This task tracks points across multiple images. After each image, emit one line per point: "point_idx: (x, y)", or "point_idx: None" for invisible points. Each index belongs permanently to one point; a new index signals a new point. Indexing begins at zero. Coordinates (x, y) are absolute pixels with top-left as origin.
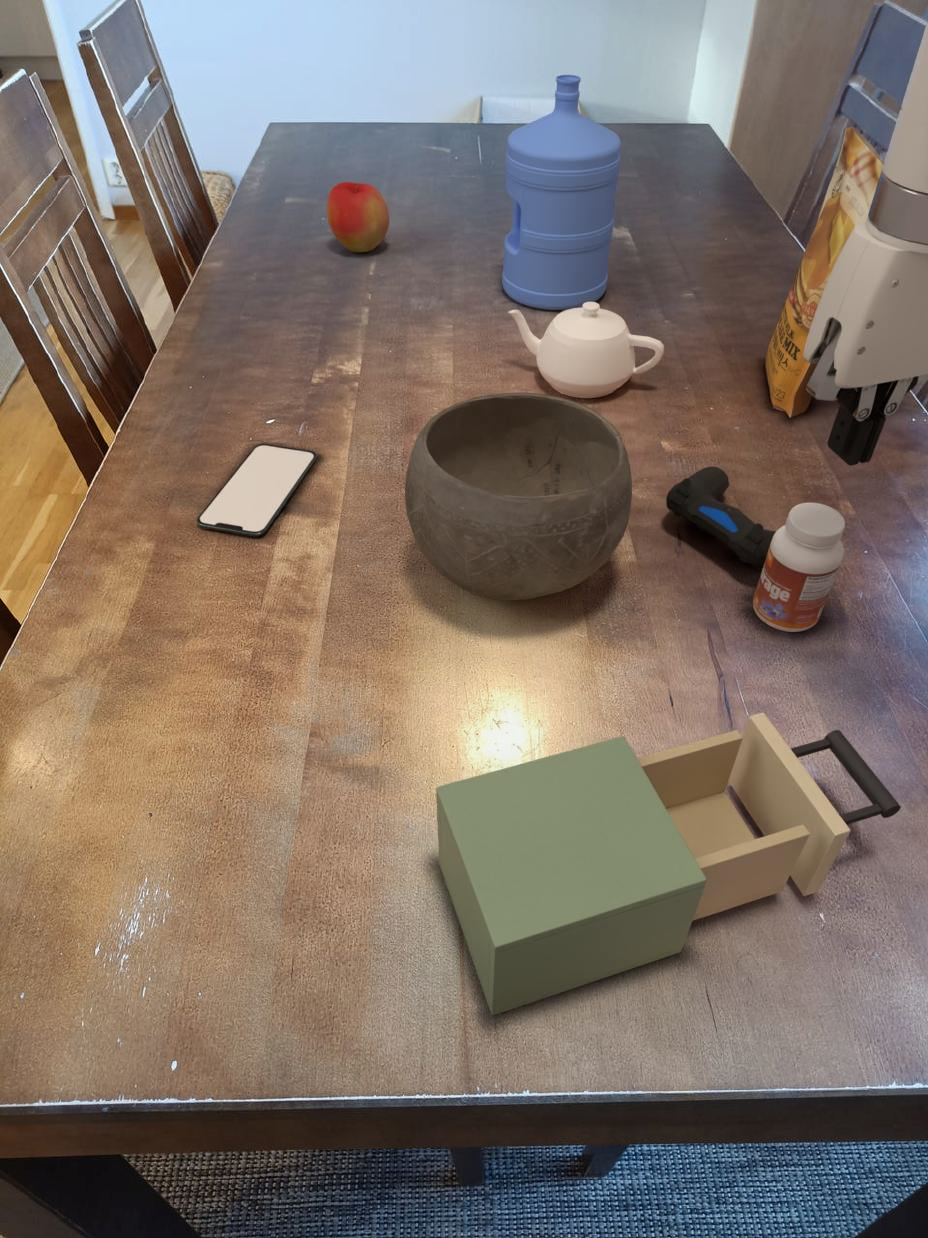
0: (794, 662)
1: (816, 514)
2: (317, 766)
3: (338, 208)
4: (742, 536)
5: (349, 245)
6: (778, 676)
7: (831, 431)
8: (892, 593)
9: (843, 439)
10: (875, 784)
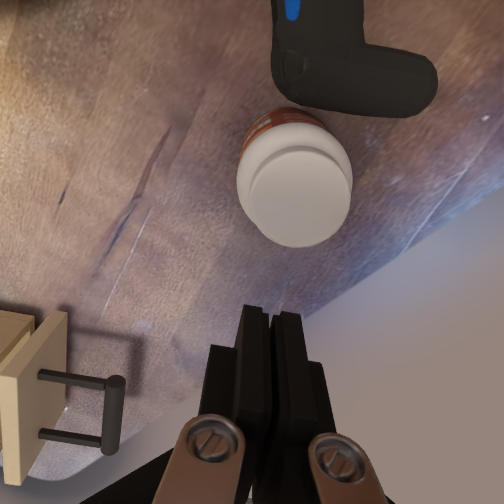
0: (230, 223)
1: (307, 193)
2: None
3: None
4: (287, 42)
5: None
6: (198, 229)
7: (242, 327)
8: (432, 199)
9: (199, 407)
10: (106, 438)
